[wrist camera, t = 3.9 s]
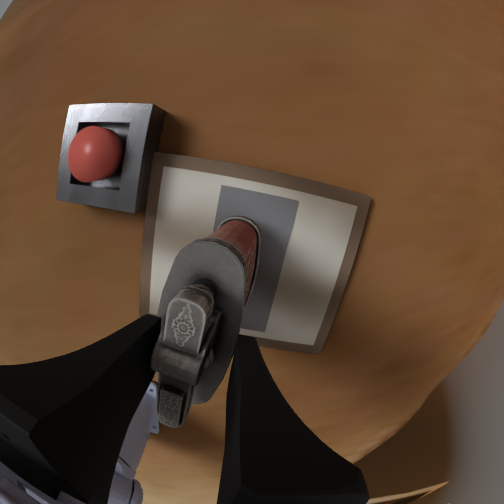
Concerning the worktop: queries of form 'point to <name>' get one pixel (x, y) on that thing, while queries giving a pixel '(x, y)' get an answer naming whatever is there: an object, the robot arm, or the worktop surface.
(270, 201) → the board
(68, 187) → the button housing
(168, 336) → the lighter
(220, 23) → the worktop surface
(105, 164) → the button
